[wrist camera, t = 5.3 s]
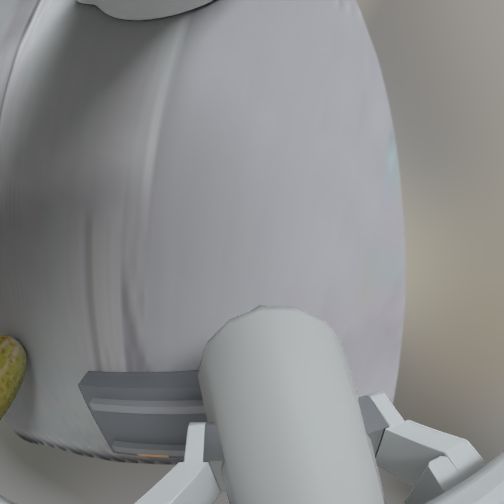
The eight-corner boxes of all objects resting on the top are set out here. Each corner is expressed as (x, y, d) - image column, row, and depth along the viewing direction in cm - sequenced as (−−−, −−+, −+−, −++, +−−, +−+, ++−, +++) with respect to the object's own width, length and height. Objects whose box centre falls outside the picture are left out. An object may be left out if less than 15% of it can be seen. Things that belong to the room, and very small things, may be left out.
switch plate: (88, 371, 21) (74, 390, 18) (311, 356, 22) (321, 377, 19) (119, 437, 23) (111, 457, 20) (310, 427, 24) (318, 449, 21)
